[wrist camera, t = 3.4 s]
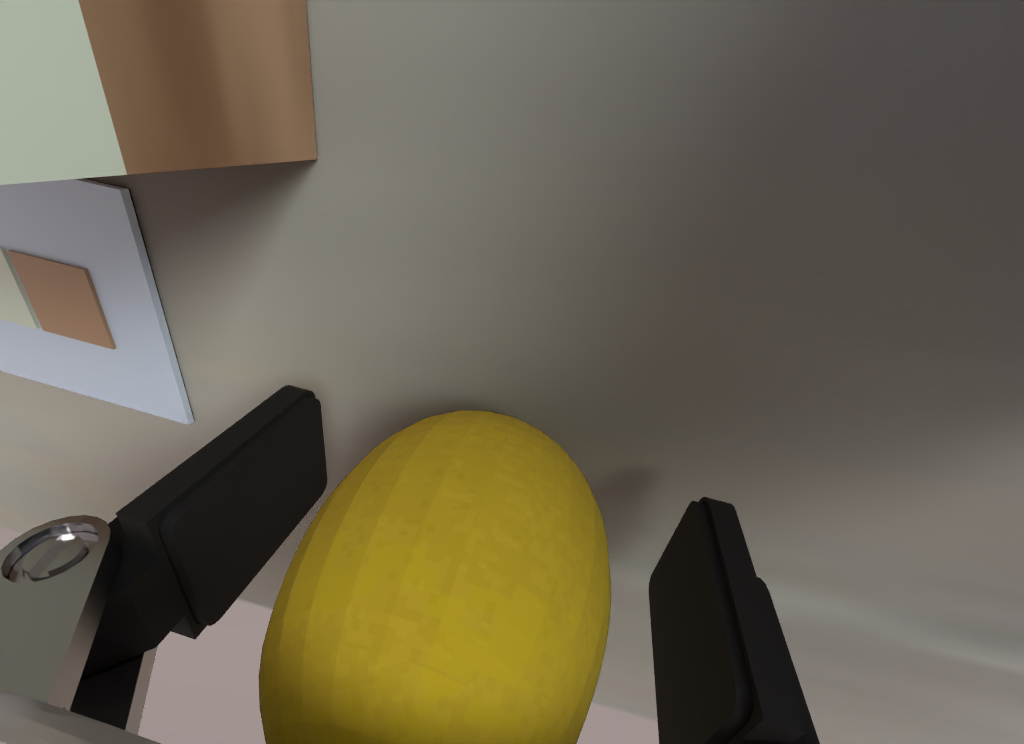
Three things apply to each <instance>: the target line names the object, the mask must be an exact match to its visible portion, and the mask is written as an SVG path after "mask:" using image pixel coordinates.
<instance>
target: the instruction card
mask: <svg viewBox="0 0 1024 744" xmlns="http://www.w3.org/2000/svg"><path fill="white" fill-rule="evenodd" d="M0 371H2V372H6V373H9V374H13V375H16V376H20V377H23V378H27V379H30V380H34V381H37V382H41V383H44V384H48V385H51V386H54V387H58V388H61V389H65V390H68V391H72V392H75V393H79V394H82V395H86V396H89V397H93V398H96V399H100V400H103V401H107V402H110V403H114V404H117V405H121V406H124V407H128V408H131V409H135V410H138V411H142V412H145V413H149V414H152V415H155V416H159V417H162V418H166V419H169V420H173V421H176V422H180V423H183V424H187V425H190V424H191V423H193V422H194V419H193V415H192V412H191V408H190V405H189V401H188V398H187V394H186V391H185V387H184V384H183V380H182V376H181V373H180V369H179V366H178V362H177V359H176V355H175V352H174V348H173V345H172V341H171V338H170V334H169V331H168V327H167V324H166V320H165V316H164V313H163V309H162V306H161V302H160V299H159V295H158V292H157V288H156V285H155V281H154V278H153V274H152V271H151V267H150V264H149V260H148V256H147V253H146V249H145V246H144V242H143V239H142V235H141V232H140V228H139V225H138V221H137V218H136V214H135V211H134V207H133V204H132V200H131V196H130V193H129V189H126V188H122V187H118V186H113V185H109V184H104V183H100V182H95V181H91V180H87V179H82V178H81V179H68V180H56V181H44V182H31V183H19V184H7V185H0Z"/></svg>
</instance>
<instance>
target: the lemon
mask: <svg viewBox="0 0 1024 744" xmlns="http://www.w3.org/2000/svg"><path fill="white" fill-rule="evenodd" d="M610 606H611V581H610V569H609V557H608V547H607V537H606V532H605V527H604V522H603V519H602V516H601V513H600V510H599V507H598V505H597V503H596V500H595V498H594V496H593V494H592V492H591V489H590V487H589V485H588V483H587V481H586V479H585V477H584V475H583V473H582V472H581V470H580V469H579V468H578V467H577V465H576V464H575V463H574V462H573V461H572V459H571V458H570V457H569V456H568V454H567V453H566V452H565V451H564V450H563V448H562V447H561V446H560V445H559V444H557V443H556V442H555V441H553V440H552V439H551V438H550V437H548V436H547V435H546V434H544V433H543V432H542V431H540V430H539V429H537V428H535V427H533V426H531V425H529V424H527V423H525V422H523V421H521V420H519V419H517V418H514V417H510V416H506V415H502V414H498V413H494V412H490V411H469V410H460V411H456V412H451V413H446V414H441V415H436V416H431V417H427V418H425V419H423V420H421V421H418V422H416V423H414V424H412V425H410V426H409V427H407V428H405V429H403V430H401V431H399V432H397V433H395V434H394V435H392V436H390V437H389V438H387V439H386V440H384V441H383V442H382V443H380V444H379V445H378V446H377V447H376V448H374V449H373V450H372V451H371V452H370V453H369V454H368V455H367V456H366V457H365V458H364V459H363V460H362V461H361V462H360V463H359V464H358V465H357V466H356V467H355V468H354V469H353V470H352V471H351V472H350V473H349V474H348V475H347V476H346V477H345V478H344V479H343V480H342V482H341V483H340V484H339V485H338V486H337V488H336V489H335V490H334V491H333V492H332V493H331V495H330V496H329V497H328V499H327V500H326V502H325V503H324V504H323V506H322V507H321V509H320V510H319V511H318V513H317V515H316V516H315V518H314V520H313V521H312V523H311V525H310V526H309V528H308V530H307V532H306V534H305V535H304V537H303V539H302V541H301V543H300V545H299V547H298V549H297V551H296V553H295V555H294V558H293V560H292V562H291V564H290V566H289V569H288V571H287V573H286V576H285V578H284V581H283V583H282V586H281V589H280V591H279V594H278V597H277V599H276V602H275V605H274V608H273V612H272V615H271V618H270V621H269V625H268V628H267V632H266V636H265V640H264V643H263V647H262V655H261V663H260V671H259V698H260V699H259V700H260V712H261V718H262V724H263V729H264V735H265V741H266V744H576V743H577V740H578V738H579V735H580V732H581V730H582V727H583V724H584V722H585V719H586V716H587V713H588V710H589V707H590V704H591V701H592V698H593V695H594V692H595V688H596V685H597V681H598V678H599V674H600V670H601V666H602V661H603V657H604V652H605V647H606V642H607V635H608V628H609V620H610Z"/></svg>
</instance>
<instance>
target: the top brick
mask: <svg viewBox="0 0 1024 744" xmlns="http://www.w3.org/2000/svg"><path fill="white" fill-rule="evenodd" d="M118 175H127V172H126V169H125V165H124V162H123V158H122V155H121V151H120V147H119V144H118V140H117V137H116V133H115V130H114V126H113V122H112V119H111V115H110V112H109V108H108V105H107V101H106V97H105V94H104V90H103V87H102V83H101V80H100V76H99V72H98V69H97V65H96V62H95V58H94V55H93V51H92V47H91V44H90V40H89V37H88V33H87V30H86V26H85V23H84V19H83V15H82V12H81V8H80V5H79V1H78V0H0V185H7V184H19V183H31V182H44V181H56V180H68V179H81V178H93V177H106V176H118Z"/></svg>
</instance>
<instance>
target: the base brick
mask: <svg viewBox="0 0 1024 744" xmlns="http://www.w3.org/2000/svg"><path fill="white" fill-rule="evenodd" d="M78 1H79V5H80V8H81V12H82V15H83V19H84V23H85V26H86V30H87V33H88V37H89V40H90V44H91V47H92V51H93V55H94V58H95V62H96V65H97V69H98V72H99V76H100V80H101V83H102V87H103V90H104V94H105V97H106V101H107V105H108V108H109V112H110V115H111V119H112V122H113V126H114V130H115V133H116V137H117V140H118V144H119V147H120V151H121V155H122V158H123V162H124V165H125V169H126V172H127V175H130V174H143V173H155V172H167V171H180V170H192V169H204V168H217V167H229V166H241V165H254V164H266V163H279V162H291V161H303V160H316V159H317V149H316V134H315V120H314V105H313V91H312V76H311V62H310V47H309V32H308V18H307V3H306V0H78Z"/></svg>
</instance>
